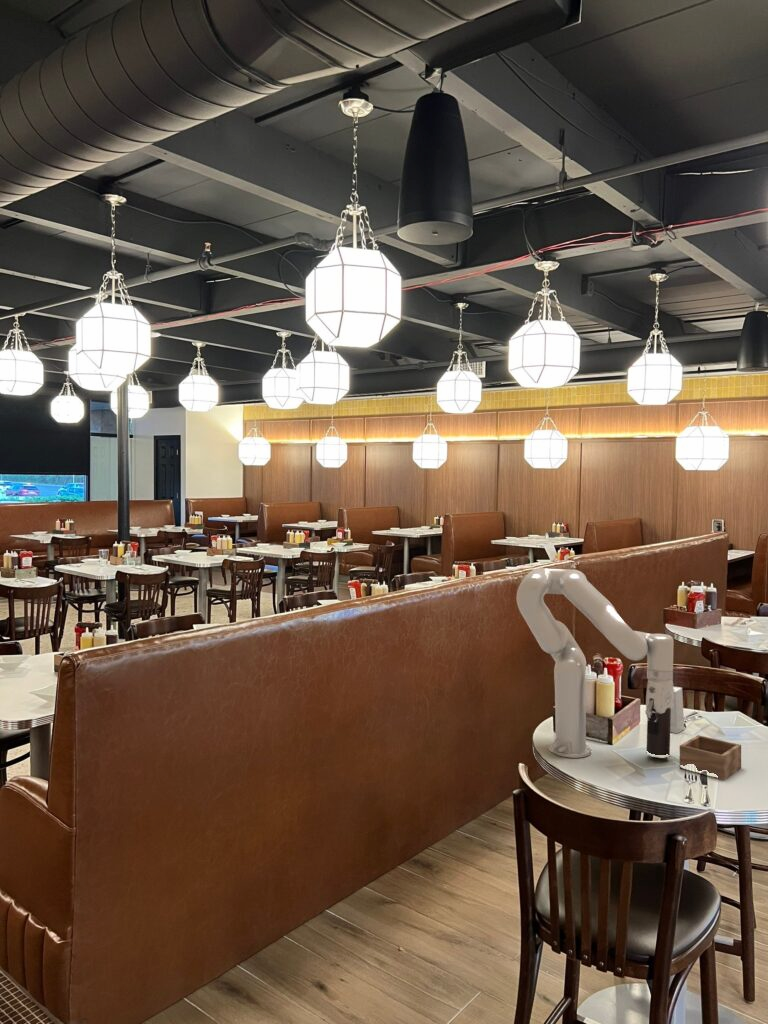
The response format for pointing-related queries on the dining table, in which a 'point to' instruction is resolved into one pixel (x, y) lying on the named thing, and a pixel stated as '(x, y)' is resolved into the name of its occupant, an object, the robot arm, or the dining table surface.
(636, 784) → the dining table surface
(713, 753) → the caddy
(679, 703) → the skincare box
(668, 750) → the vinegar
